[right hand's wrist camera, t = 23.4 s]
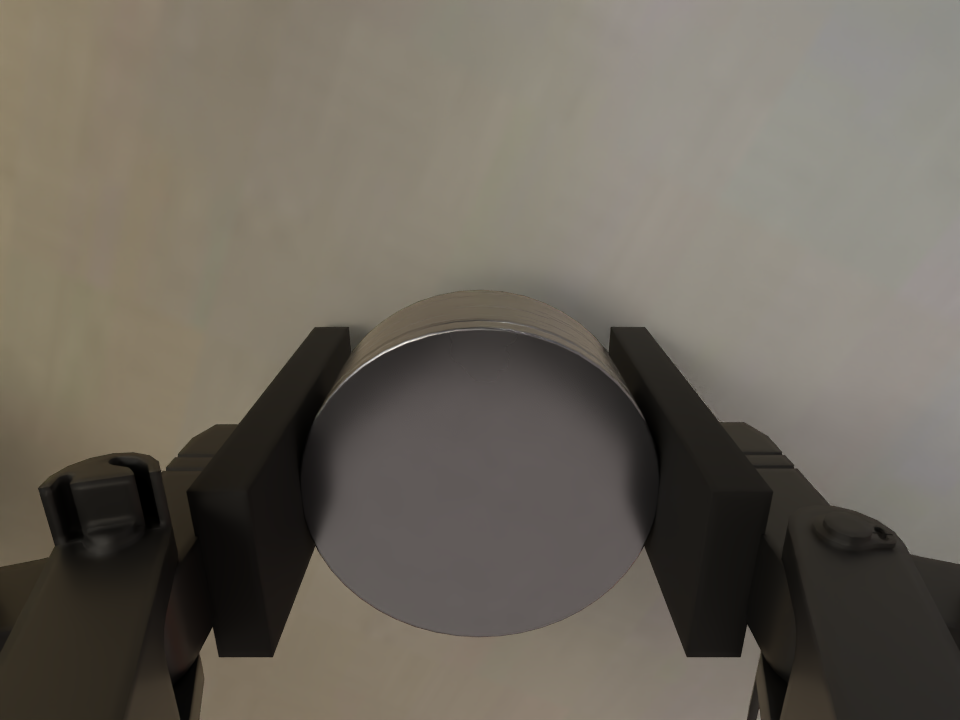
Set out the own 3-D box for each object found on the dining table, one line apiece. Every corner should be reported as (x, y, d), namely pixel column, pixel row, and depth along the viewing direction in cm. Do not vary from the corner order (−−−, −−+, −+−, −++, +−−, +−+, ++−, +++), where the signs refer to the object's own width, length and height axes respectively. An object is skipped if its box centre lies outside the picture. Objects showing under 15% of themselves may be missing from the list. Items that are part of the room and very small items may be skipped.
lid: (280, 481, 13) (241, 551, 11) (419, 227, 11) (405, 253, 9) (527, 598, 14) (536, 683, 12) (692, 385, 12) (736, 442, 10)
